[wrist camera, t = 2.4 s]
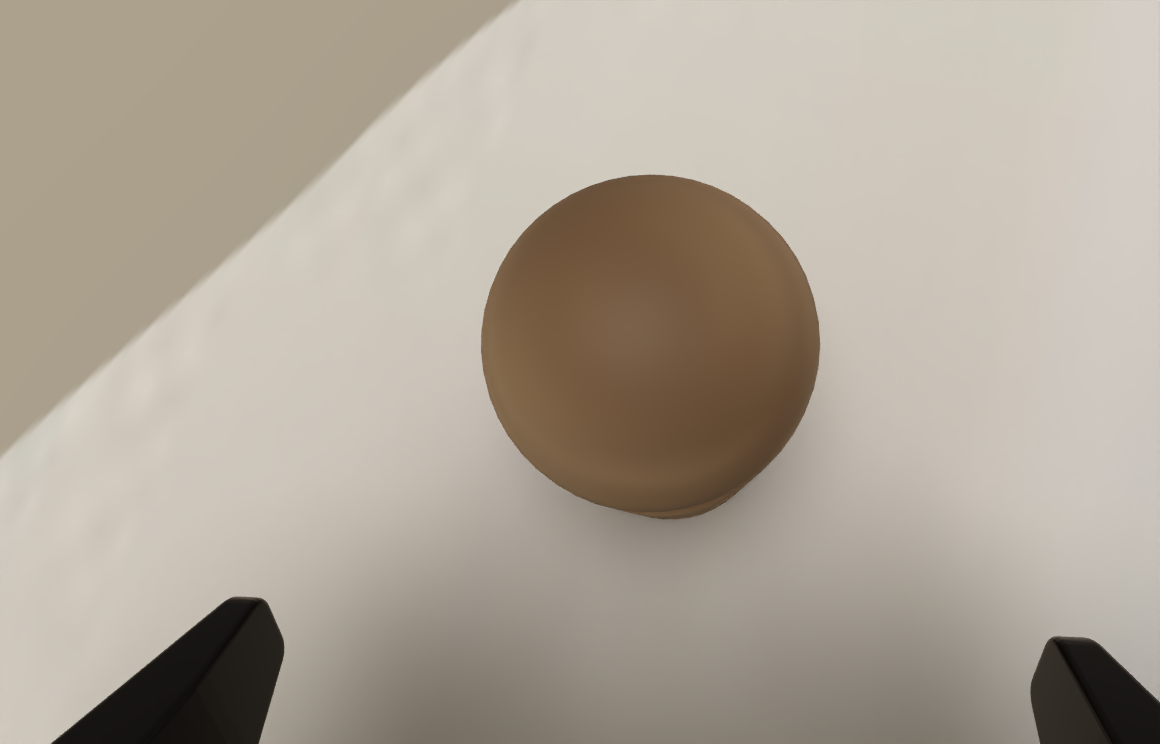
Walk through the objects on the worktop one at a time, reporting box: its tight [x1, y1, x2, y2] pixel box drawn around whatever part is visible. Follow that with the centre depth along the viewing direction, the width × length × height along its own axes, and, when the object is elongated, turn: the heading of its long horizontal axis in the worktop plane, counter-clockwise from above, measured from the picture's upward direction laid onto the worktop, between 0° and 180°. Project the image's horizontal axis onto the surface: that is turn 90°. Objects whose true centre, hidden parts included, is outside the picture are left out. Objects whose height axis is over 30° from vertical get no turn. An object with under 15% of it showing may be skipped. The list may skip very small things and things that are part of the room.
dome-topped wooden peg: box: [481, 175, 820, 519], centre depth 15 cm, size 5×5×11 cm
